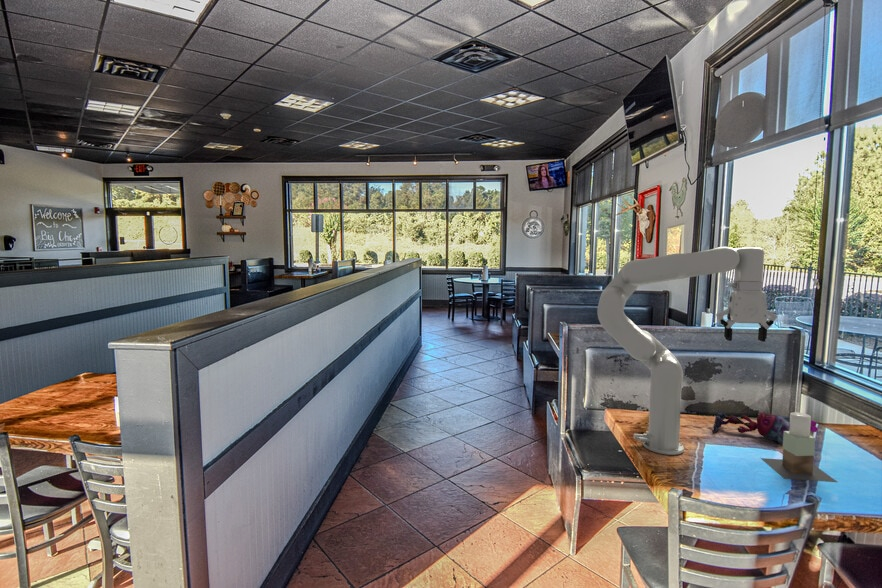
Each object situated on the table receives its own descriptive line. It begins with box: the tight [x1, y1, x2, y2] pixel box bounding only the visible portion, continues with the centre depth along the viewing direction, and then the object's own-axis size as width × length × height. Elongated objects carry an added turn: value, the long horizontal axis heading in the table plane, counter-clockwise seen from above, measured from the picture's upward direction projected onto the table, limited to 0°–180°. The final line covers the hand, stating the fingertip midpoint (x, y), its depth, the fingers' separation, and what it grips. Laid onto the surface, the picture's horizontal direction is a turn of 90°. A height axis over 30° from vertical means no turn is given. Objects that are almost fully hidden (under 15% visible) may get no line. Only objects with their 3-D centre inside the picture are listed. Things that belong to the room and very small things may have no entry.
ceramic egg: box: [789, 411, 812, 438], centre depth 144 cm, size 5×5×6 cm
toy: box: [711, 412, 818, 446], centre depth 170 cm, size 16×9×30 cm
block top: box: [782, 431, 816, 457], centre depth 145 cm, size 6×6×6 cm
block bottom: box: [782, 448, 815, 474], centre depth 145 cm, size 6×6×6 cm
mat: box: [760, 457, 838, 483], centre depth 145 cm, size 14×14×1 cm
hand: (744, 340), depth 152 cm, fingers open, 9 cm apart
